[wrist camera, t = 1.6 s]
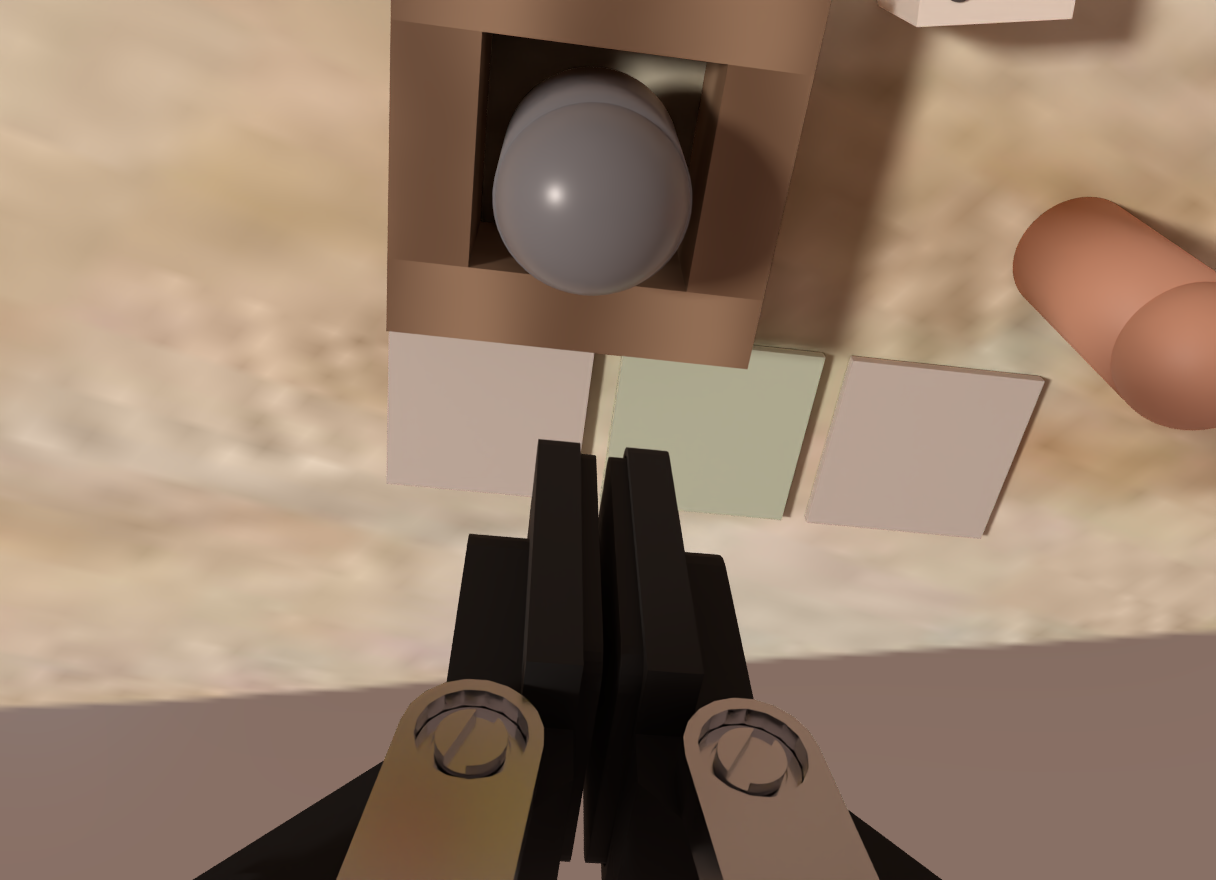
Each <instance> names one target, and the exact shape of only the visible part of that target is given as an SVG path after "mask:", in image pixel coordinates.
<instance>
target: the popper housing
mask: <svg viewBox="0 0 1216 880" xmlns="http://www.w3.org/2000/svg"><path fill="white" fill-rule="evenodd" d="M831 1H832V0H391V40H390V112H389V184H388V256H387V328H386V331H391V332H400V333H410V334H419V335H428V336H438V337H447V338H457V339H466V340H475V341H485V342H494V343H504V344H513V345H522V346H532V347H541V348H551V349H560V350H570V351H579V352H588V353H598V354H607V355H617V356H626V357H635V358H645V359H654V360H664V361H673V362H682V363H692V364H701V365H711V366H720V367H730V368H739V369H748V365H749V361H750V357H751V352H752V348H753V343H754V339H755V335H756V330H757V326H758V321H759V317H760V313H761V308H762V304H763V299H764V295H765V291H766V286H767V282H768V277H769V273H770V269H771V264H772V260H773V255H774V251H775V247H776V242H777V238H778V234H779V229H780V225H781V220H782V216H783V212H784V207H785V203H786V198H787V194H788V190H789V185H790V181H791V176H792V172H793V168H794V163H795V159H796V154H797V150H798V146H799V141H800V137H801V132H802V128H803V124H804V119H805V115H806V111H807V106H808V102H809V97H810V93H811V89H812V84H813V80H814V75H815V71H816V67H817V62H818V58H819V53H820V49H821V45H822V40H823V36H824V31H825V27H826V23H827V18H828V14H829V9H830V5H831ZM492 33H496V34H503V35H511V36H518V37H526V38H533V39H541V40H548V41H556V42H563V43H571V44H578V45H586V46H593V47H601V48H608V49H616V50H623V51H631V52H638V53H646V54H653V55H661V56H668V57H676V58H683V59H691V60H698V61H706V62H707V65H706V71H705V76H704V82H703V88H702V94H701V100H700V105H699V111H698V117H697V123H696V129H695V134H694V140H693V146H692V152H691V158H690V164H689V169H688V171H689V175H690V179H691V186H692V209H691V216H690V220H689V224H688V228H687V230H686V233H685V235H684V238H683V240H682V242H681V244H680V245H679V247H678V249H677V251H676V252H675V253H674V255H673V256H672V257H671V259H670V260H669V261H668V262H667V263H666V264H665V265H664V266H663V267H662V269H660V270H659V271H658V272H657V273H655V274H654V275H653V276H652V277H650V278H649V279H647V280H646V281H644V282H642V283H641V284H639V285H636V286H634V287H632V288H630V289H627V290H624V291H621V292H618V293H613V294H608V295H598V296H588V295H578V294H572V293H568V292H564V291H561V290H558V289H555V288H553V287H551V286H548V285H546V284H544V283H543V282H541V281H539V280H538V279H536V278H535V277H533V276H532V275H531V274H529V273H528V272H527V271H526V270H525V269H524V268H523V267H522V266H521V265H520V264H519V263H518V262H517V261H516V260H515V259H514V257H513V256H512V255H511V254H510V252H509V251H508V249H507V247H506V246H505V244H504V242H503V240H502V238H501V236H500V233H499V231H498V228H497V225H496V223H489V222H480V219H481V203H482V188H483V172H484V156H485V141H486V125H487V110H488V94H489V78H490V63H491V47H492Z"/></svg>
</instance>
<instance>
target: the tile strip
mask: <svg viewBox="0 0 1216 880" xmlns="http://www.w3.org/2000/svg"><path fill="white" fill-rule="evenodd" d="M593 359H594V353H588V352H579V351H570V350H560V349H551V348H541V347H532V346H522V345H513V344H504V343H494V342H485V341H475V340H466V339H457V338H447V337H438V336H428V335H419V334H410V333H400V332H391V331H389V358H388V423H387V484H397V485H408V486H419V487H430V488H440V489H451V490H462V491H473V492H483V493H494V494H505V495H516V496H526V497H532V491H533V482H534V472H535V463H536V454H537V445H538V439H545V440H556V441H566V442H577V443H580V445H581V447H582V440H583V433H584V425H585V418H586V410H587V403H588V396H589V388H590V381H591V374H592V366H593ZM824 361H825V356H824V354H823V353H821V352H812V351H803V350H794V349H784V348H775V347H766V346H757V345H753V348H752V352H751V357H750V361H749V365H748V369H739V368H730V367H720V366H711V365H701V364H692V363H682V362H673V361H664V360H654V359H645V358H635V357H626V356H622V358H621V365H620V371H619V378H618V385H617V391H616V398H615V404H614V411H613V417H612V424H611V431H610V437H609V444H608V450H607V457H606V463H605V470H604V477H603V483H602V490H601V496H600V503H601V498H602V492H603V485H604V479H605V472H606V466H607V461H608V458H609V457H618V458H623V455H624V451H625V448H626V447H630V448H641V449H651V450H662V451H668V452H669V456H670V462H671V468H672V475H673V481H674V487H675V494H676V500H677V506H678V511H688V512H699V513H709V514H720V515H731V516H742V517H752V518H763V519H774V520H781V519H782V516H783V512H784V508H785V505H786V501H787V497H788V494H789V490H790V486H791V483H792V479H793V475H794V472H795V468H796V464H797V461H798V457H799V453H800V450H801V446H802V442H803V438H804V435H805V431H806V427H807V424H808V420H809V416H810V413H811V409H812V405H813V402H814V398H815V394H816V391H817V387H818V383H819V380H820V376H821V372H822V369H823V365H824ZM1044 382H1045V381H1044V380H1043V379H1042V378H1041V376H1033V375H1024V374H1015V373H1006V372H997V371H987V370H978V369H969V368H960V367H950V366H941V365H932V364H923V363H914V362H904V361H895V360H886V359H877V358H867V357H858V356H850V360H849V363H848V367H847V370H846V374H845V377H844V381H843V384H842V388H841V391H840V395H839V398H838V402H837V405H836V409H835V412H834V416H833V419H832V423H831V426H830V430H829V433H828V437H827V440H826V444H825V447H824V451H823V454H822V457H821V461H820V464H819V468H818V471H817V475H816V478H815V482H814V485H813V489H812V492H811V496H810V499H809V503H808V506H807V510H806V513H805V519H806V522H807V523H817V524H828V525H838V526H849V527H860V528H871V529H881V530H892V531H903V532H914V533H924V534H935V535H946V536H957V537H968V538H978V539H981V537H982V535H983V532H984V530H985V527H986V525H987V523H988V520H989V518H990V515H991V513H992V510H993V508H994V505H995V503H996V500H997V498H998V495H999V493H1000V491H1001V488H1002V486H1003V483H1004V481H1005V478H1006V476H1007V473H1008V471H1009V468H1010V466H1011V463H1012V461H1013V459H1014V456H1015V454H1016V451H1017V449H1018V446H1019V444H1020V441H1021V439H1022V436H1023V434H1024V431H1025V429H1026V427H1027V424H1028V422H1029V419H1030V417H1031V414H1032V412H1033V409H1034V407H1035V404H1036V402H1037V399H1038V397H1039V395H1040V392H1041V390H1042V387H1043V385H1044Z"/></svg>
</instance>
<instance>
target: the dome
mask: <svg viewBox="0 0 1216 880" xmlns="http://www.w3.org/2000/svg"><path fill="white" fill-rule="evenodd" d="M691 209H692V186H691V179H690V175H689V171H688V168H687V165H686V161H685V158H684V155H683V152H682V149H681V146H680V143H679V140H678V137H677V134H676V131H675V128H674V124H673V122H672V120H671V118H670V115H669V113H668V112H667V110H666V108H665V107H664V105H663V104H662V102H661V101H660V100H659V99H658V97H657V96H656V95H655V94H654V93H653V92H652V91H651V90H650V89H649V88H648V87H647V86H645V85H644V84H643V83H641V82H640V81H638V80H637V79H635V78H633V77H631V76H629V75H627V74H625V73H622V72H620V71H617V70H614V69H609V68H604V67H592V66H589V67H577V68H573V69H568V70H565V71H562V72H559V73H557V74H554V75H552V76H551V77H549V78H547V79H545V80H543V81H542V82H541V83H539V84H538V85H537V86H535V87H534V88H533V89H532V90H531V91H530V92H529V93H528V94H527V95H526V96H525V97H524V98H523V100H522V101H521V102H520V103H519V105H518V107H517V108H516V110H515V112H514V113H513V115H512V118H511V120H510V122H509V125H508V128H507V131H506V135H505V139H504V143H503V147H502V150H501V154H500V158H499V162H498V166H497V170H496V174H495V177H494V184H493V211H494V217H495V221H496V225H497V228H498V231H499V233H500V236H501V238H502V240H503V242H504V244H505V246H506V247H507V249H508V251H509V252H510V254H511V255H512V256H513V257H514V259H515V260H516V261H517V262H518V263H519V264H520V265H521V266H522V267H523V268H524V269H525V270H526V271H527V272H528V273H529V274H531V275H532V276H533V277H535V278H536V279H538V280H539V281H541V282H543V283H544V284H546V285H548V286H551V287H553V288H555V289H558V290H561V291H564V292H568V293H572V294H578V295H588V296H598V295H608V294H613V293H618V292H621V291H624V290H627V289H630V288H632V287H634V286H636V285H639V284H641V283H642V282H644V281H646V280H647V279H649V278H650V277H652V276H653V275H654V274H655V273H657V272H658V271H659V270H660V269H662V267H663V266H664V265H665V264H666V263H667V262H668V261H669V260H670V259H671V257H672V256H673V255H674V253H675V252H676V251H677V249H678V247H679V245H680V244H681V242H682V240H683V238H684V235H685V233H686V230H687V228H688V224H689V220H690V216H691Z"/></svg>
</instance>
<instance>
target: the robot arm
mask: <svg viewBox="0 0 1216 880" xmlns="http://www.w3.org/2000/svg"><path fill="white" fill-rule="evenodd" d="M582 793H583V799H584V801H583V804H584V806H583V807H584V858H585V862H586V863H601V873H602V880H942V879H940V878H939V877H938V876H936V875H935V874H934V873H932V872H931V871H929V870H928V869H927V868H926V867H924V866H923V865H922V864H920V863H919V862H917V861H916V860H915V859H914V858H912V857H911V856H909V855H908V854H907V853H905V852H904V851H903V850H901V849H900V848H899V847H897V846H896V845H895V844H893V843H892V842H891V841H889V840H888V839H886V838H885V837H884V836H882V835H881V834H880V833H879V832H877V831H876V830H874V829H873V828H872V827H871V826H869V825H868V824H867V823H865V822H864V821H862V820H861V819H860V818H858V817H857V816H856V815H854V814H853V813H852V812H850V811H849V810H848V809H847V807H846V805H845V803H844V800H843V798H842V796H841V794H840V792H839V789H838V787H837V785H836V783H835V780H834V778H833V776H832V774H831V772H830V769H829V767H828V765H827V763H826V761H825V758H824V756H823V754H822V752H821V750H820V747H819V746H818V744H817V743H816V741H815V739H814V738H813V736H812V735H811V733H810V732H809V730H808V729H807V728H805V727H804V726H803V725H802V724H801V723H800V722H799V721H798V720H797V719H796V718H794V717H793V716H792V715H790V714H788V713H786V712H785V711H783V710H781V709H779V708H777V707H776V706H774V705H770V704H767V703H764V702H761V701H757V700H754V699H753V694H752V690H751V685H750V680H749V675H748V670H747V666H746V661H745V656H744V652H743V647H742V642H741V637H740V633H739V628H738V623H737V618H736V614H735V609H734V604H733V599H732V595H731V590H730V585H729V580H728V576H727V571H726V566H725V563H724V560H723V558H722V557H721V556H720V555H714V554H702V553H690V552H685V551H684V544H683V538H682V532H681V525H680V519H679V513H678V506H677V500H676V494H675V487H674V481H673V475H672V468H671V462H670V456H669V452H668V451H662V450H651V449H641V448H630V447H626V448H625V451H624V455H623V458H618V457H609V458H608V461H607V466H606V472H605V479H604V485H603V492H602V498H601V505H600V511H599V518H598V493H597V467H596V456H595V455H586V454H581V445H580V443H577V442H566V441H556V440H545V439H538V445H537V454H536V463H535V472H534V482H533V491H532V500H531V509H530V519H529V528H528V537H527V539H525V538H513V537H501V536H489V535H477V534H469V537H468V543H467V550H466V556H465V563H464V570H463V576H462V583H461V590H460V596H459V603H458V610H457V616H456V623H455V630H454V636H453V643H452V650H451V656H450V663H449V670H448V676H447V682H445V683H443V684H441V685H438V686H436V687H434V688H431V689H429V690H427V691H425V692H424V693H423V694H421V695H420V696H419V697H418V698H416V699H415V700H414V701H413V702H412V703H410V705H409V707H408V708H407V710H406V712H405V713H404V714H403V716H402V718H401V719H400V722H399V724H398V727H397V729H396V732H395V734H394V737H393V740H392V742H391V744H390V747H389V749H388V752H387V754H386V757H385V759H384V761H382V762H381V763H379V764H378V765H376V766H374V767H373V768H371V769H369V770H368V771H366V772H365V773H363V774H361V775H360V776H359V777H357V778H355V779H353V780H352V781H350V782H349V783H347V784H345V785H344V786H342V787H341V788H339V789H337V790H336V791H334V792H333V793H331V794H329V795H328V796H326V797H325V798H323V799H321V800H320V801H318V802H317V803H315V804H313V805H312V806H310V807H309V808H307V809H305V810H304V811H302V812H301V813H299V814H297V815H296V816H294V817H293V818H291V819H289V820H288V821H286V822H285V823H283V824H281V825H280V826H278V827H277V828H275V829H274V830H272V831H270V832H269V833H267V834H265V835H264V836H262V837H261V838H259V839H257V840H256V841H254V842H253V843H251V844H249V845H248V846H246V847H245V848H243V849H241V850H240V851H238V852H237V853H235V854H233V855H232V856H230V857H229V858H227V859H225V860H224V861H222V862H221V863H219V864H217V865H216V866H214V867H213V868H211V869H210V870H208V871H206V872H205V873H203V874H201V875H200V876H198V877H197V878H195V879H193V880H557V876H558V870H559V864H560V861H565V862H570V860H571V856H572V850H573V844H574V839H575V832H576V827H577V821H578V816H579V810H580V804H581V798H582Z"/></svg>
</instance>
